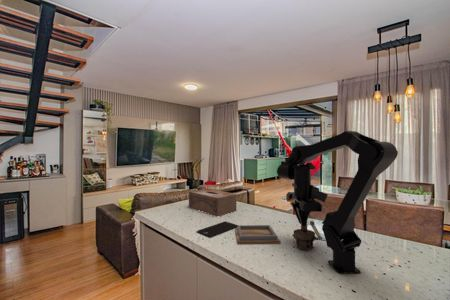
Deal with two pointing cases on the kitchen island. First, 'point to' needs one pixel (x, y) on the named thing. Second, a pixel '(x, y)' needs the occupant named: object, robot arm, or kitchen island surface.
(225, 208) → the tissue box cover
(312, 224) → the claw hammer
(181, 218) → the kitchen island surface
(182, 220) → the kitchen island surface
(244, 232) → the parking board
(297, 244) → the industrial component
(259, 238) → the locating frame
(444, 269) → the kitchen island surface
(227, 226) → the cell phone
